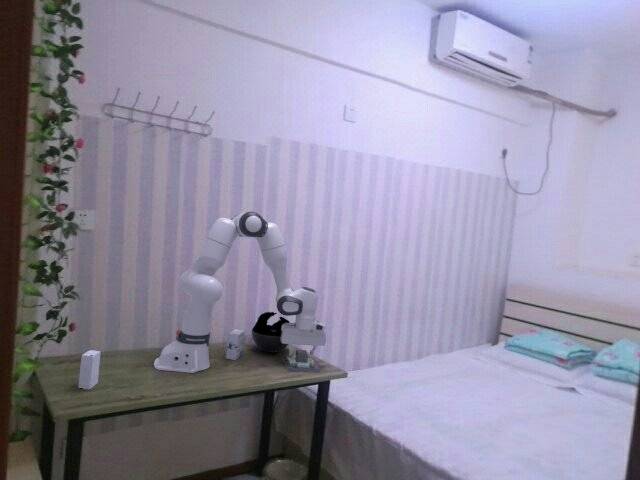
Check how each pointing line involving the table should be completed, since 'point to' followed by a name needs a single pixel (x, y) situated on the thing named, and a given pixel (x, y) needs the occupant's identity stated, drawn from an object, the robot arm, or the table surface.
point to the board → (299, 364)
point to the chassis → (301, 369)
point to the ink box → (235, 344)
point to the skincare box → (89, 369)
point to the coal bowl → (268, 333)
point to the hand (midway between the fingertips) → (301, 354)
